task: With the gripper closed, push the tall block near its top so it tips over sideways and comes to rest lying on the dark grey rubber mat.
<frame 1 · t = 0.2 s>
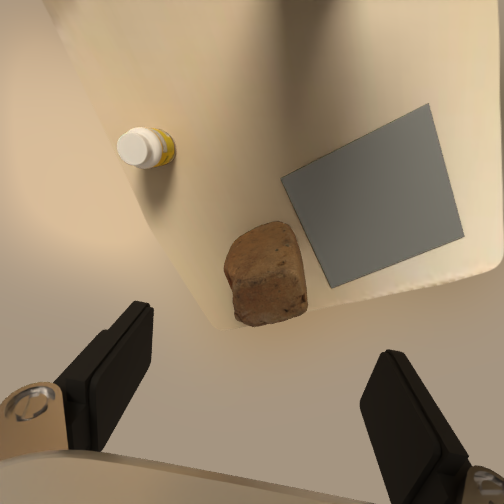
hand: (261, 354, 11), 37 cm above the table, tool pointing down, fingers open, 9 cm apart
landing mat: (373, 207, 45), on the table
block: (266, 243, 49), on the table
supplement bottle: (161, 147, 45), on the table
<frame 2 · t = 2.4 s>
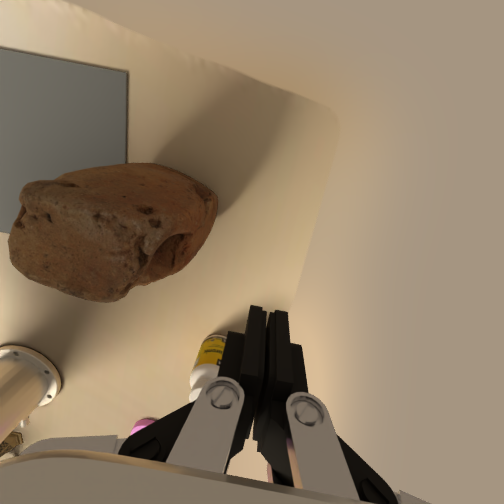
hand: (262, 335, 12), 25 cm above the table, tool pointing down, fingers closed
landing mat: (35, 156, 35), on the table
block: (180, 199, 36), on the table
supplement bottle: (218, 346, 44), on the table
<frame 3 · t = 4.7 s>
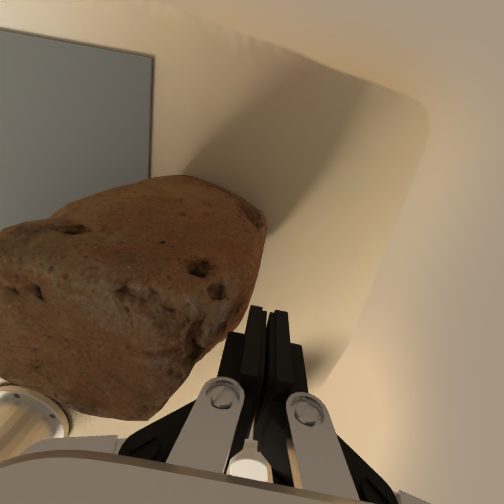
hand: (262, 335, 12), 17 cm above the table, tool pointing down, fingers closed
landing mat: (36, 166, 28), on the table
block: (215, 219, 28), on the table, touching gripper
supplement bottle: (255, 390, 37), on the table
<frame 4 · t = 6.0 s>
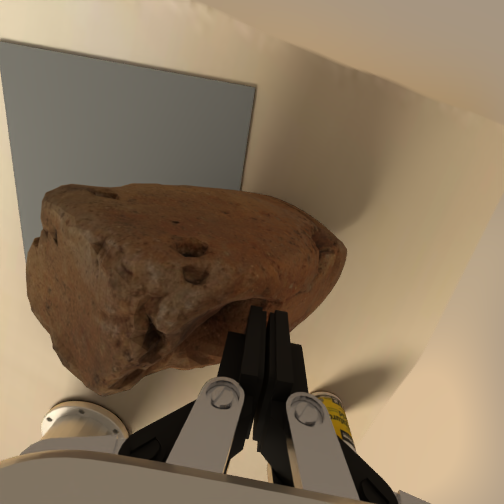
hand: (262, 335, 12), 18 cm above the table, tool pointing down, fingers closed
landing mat: (126, 189, 28), on the table
block: (296, 245, 27), point 2 cm above the table, touching gripper
supplement bottle: (321, 403, 37), on the table
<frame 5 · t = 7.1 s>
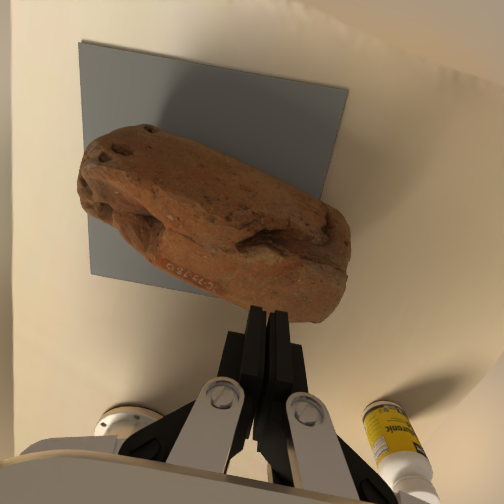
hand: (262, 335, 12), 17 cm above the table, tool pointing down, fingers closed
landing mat: (200, 195, 27), on the table
block: (334, 273, 23), point 6 cm above the table, touching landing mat
supplement bottle: (381, 412, 36), on the table
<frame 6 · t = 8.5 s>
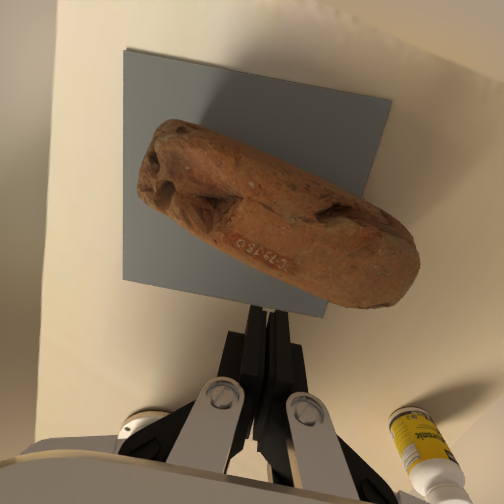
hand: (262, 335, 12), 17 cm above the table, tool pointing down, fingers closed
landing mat: (237, 202, 28), on the table
block: (387, 266, 23), point 6 cm above the table, touching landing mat
supplement bottle: (407, 419, 36), on the table
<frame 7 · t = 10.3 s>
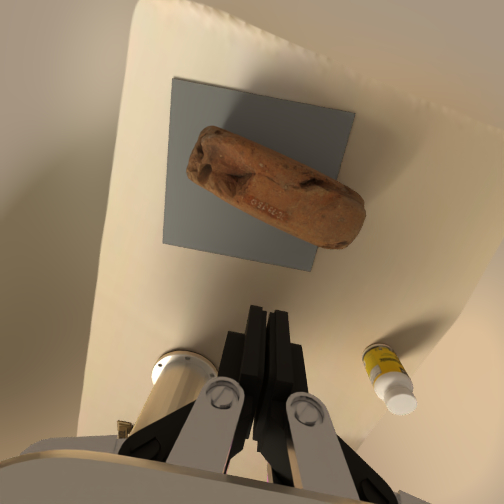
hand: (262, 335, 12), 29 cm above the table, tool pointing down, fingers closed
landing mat: (248, 184, 38), on the table
block: (351, 224, 34), point 6 cm above the table, touching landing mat
supplement bottle: (377, 354, 47), on the table
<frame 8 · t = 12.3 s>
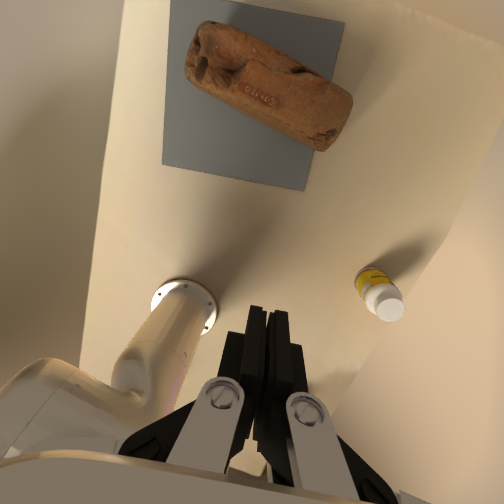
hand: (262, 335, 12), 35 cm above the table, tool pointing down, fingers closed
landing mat: (244, 101, 40), on the table
block: (340, 126, 35), point 6 cm above the table, touching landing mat
supplement bottle: (368, 279, 49), on the table
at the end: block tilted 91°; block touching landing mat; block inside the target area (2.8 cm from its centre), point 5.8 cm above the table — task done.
